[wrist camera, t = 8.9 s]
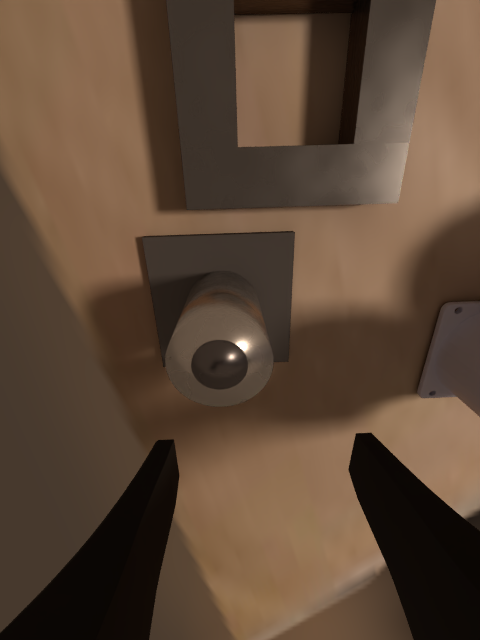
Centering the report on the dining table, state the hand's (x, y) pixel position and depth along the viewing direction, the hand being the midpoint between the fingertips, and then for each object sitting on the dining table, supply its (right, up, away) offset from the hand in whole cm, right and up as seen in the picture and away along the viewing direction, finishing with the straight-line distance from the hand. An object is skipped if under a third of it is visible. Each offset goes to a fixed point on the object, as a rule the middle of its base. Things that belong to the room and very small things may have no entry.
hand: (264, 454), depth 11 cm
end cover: (-2, +6, +7) cm, 10 cm away
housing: (+2, +17, +3) cm, 18 cm away
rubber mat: (-2, +7, +8) cm, 10 cm away
